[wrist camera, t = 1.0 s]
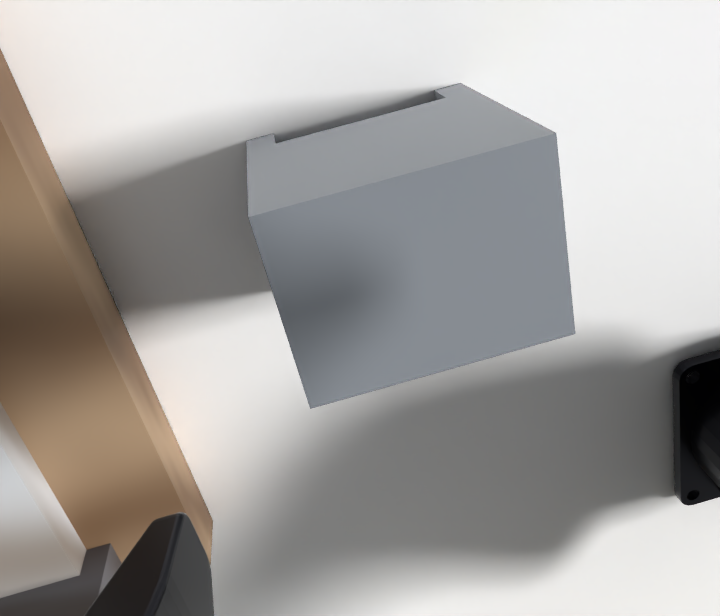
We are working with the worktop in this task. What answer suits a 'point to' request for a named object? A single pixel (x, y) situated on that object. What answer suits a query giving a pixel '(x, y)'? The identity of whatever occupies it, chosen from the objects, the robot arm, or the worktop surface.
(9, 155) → the rail board
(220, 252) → the worktop surface
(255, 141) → the block
